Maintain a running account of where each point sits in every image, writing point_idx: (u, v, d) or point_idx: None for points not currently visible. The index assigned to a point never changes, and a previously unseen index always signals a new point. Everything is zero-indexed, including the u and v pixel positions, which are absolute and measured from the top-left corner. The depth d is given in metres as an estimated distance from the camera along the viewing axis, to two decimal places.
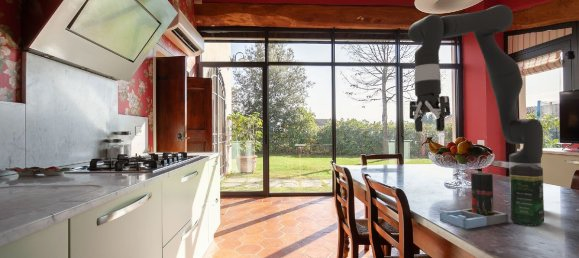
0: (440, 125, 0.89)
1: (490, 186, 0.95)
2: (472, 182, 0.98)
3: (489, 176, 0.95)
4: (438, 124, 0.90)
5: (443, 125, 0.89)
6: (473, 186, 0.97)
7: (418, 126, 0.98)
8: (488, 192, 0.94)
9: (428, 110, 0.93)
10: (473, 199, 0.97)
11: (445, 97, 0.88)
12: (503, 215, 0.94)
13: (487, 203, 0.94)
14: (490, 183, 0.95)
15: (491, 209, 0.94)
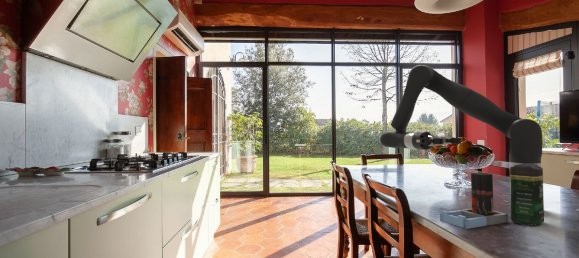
0: (437, 143, 1.08)
1: (490, 186, 0.95)
2: (472, 182, 0.98)
3: (489, 176, 0.95)
4: (437, 143, 1.08)
5: (436, 140, 1.08)
6: (473, 186, 0.97)
7: (455, 142, 1.11)
8: (488, 192, 0.94)
9: None
10: (473, 199, 0.97)
11: (416, 141, 1.15)
12: (503, 215, 0.94)
13: (487, 203, 0.94)
14: (490, 183, 0.95)
15: (491, 209, 0.94)
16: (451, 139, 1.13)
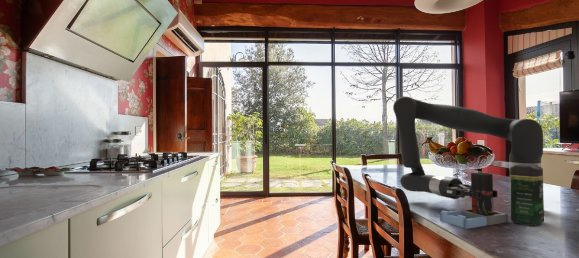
0: (475, 197, 0.95)
1: (490, 186, 0.95)
2: (472, 182, 0.98)
3: (489, 176, 0.95)
4: (475, 197, 0.96)
5: (474, 194, 0.95)
6: (473, 186, 0.97)
7: None
8: (488, 192, 0.94)
9: None
10: (473, 199, 0.97)
11: (447, 191, 1.02)
12: (503, 215, 0.94)
13: (487, 203, 0.94)
14: (490, 183, 0.95)
15: (491, 209, 0.94)
16: None
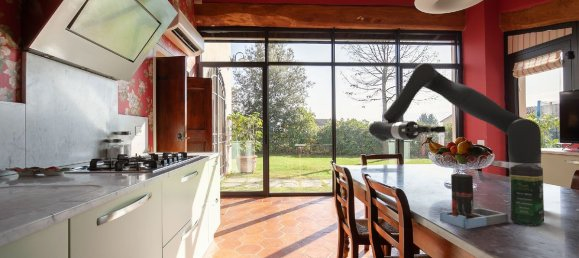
0: (421, 131, 1.09)
1: (470, 188, 0.92)
2: (452, 184, 0.95)
3: (469, 178, 0.92)
4: (421, 132, 1.10)
5: (421, 128, 1.09)
6: (453, 188, 0.94)
7: (440, 130, 1.13)
8: (467, 194, 0.92)
9: None
10: (453, 201, 0.94)
11: (402, 130, 1.17)
12: (503, 215, 0.94)
13: (467, 205, 0.92)
14: (470, 185, 0.92)
15: (471, 212, 0.92)
16: (436, 128, 1.14)
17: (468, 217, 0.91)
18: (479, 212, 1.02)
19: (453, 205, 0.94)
